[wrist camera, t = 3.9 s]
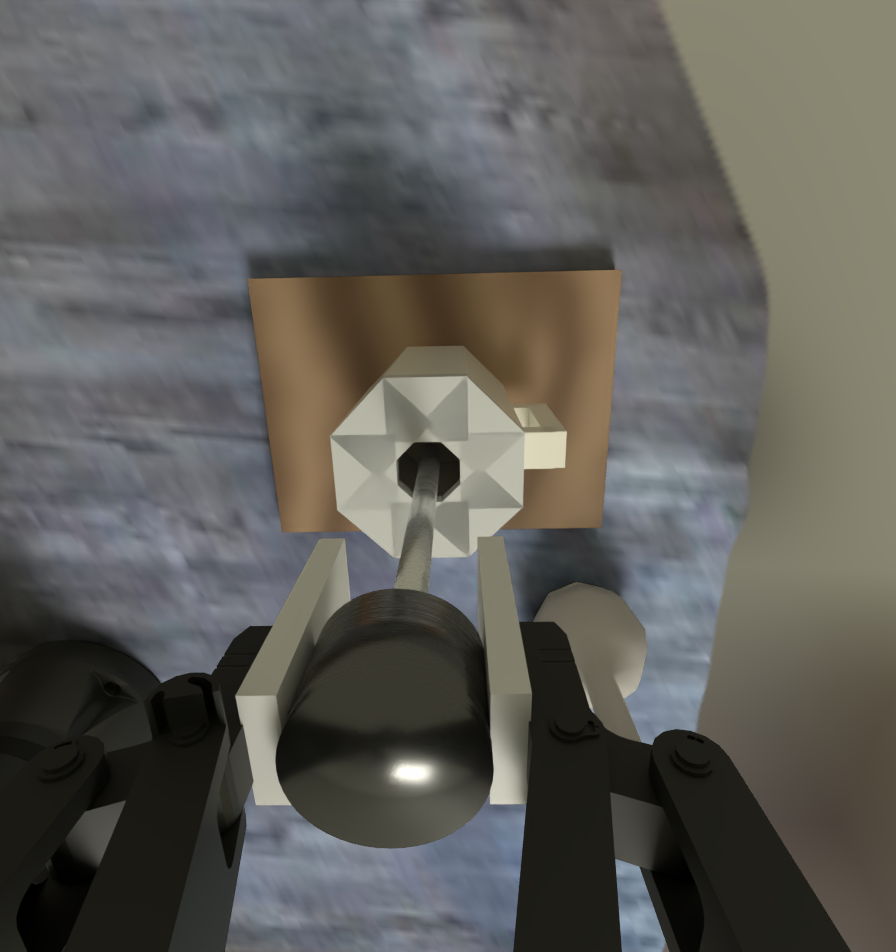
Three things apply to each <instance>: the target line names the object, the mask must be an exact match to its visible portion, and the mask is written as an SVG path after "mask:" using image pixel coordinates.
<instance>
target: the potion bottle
mask: <svg viewBox="0 0 896 952" xmlns="http://www.w3.org/2000/svg"><path fill="white" fill-rule="evenodd" d="M535 616H536V617H535V619H534V620H533V622H555V623H556V624H557V625H558V626H559V627H560V628H561V629H562V630H563V631H564V632H565V633H566V634H567V637H568V640H569V643H570V646H571V652H572V653H573V656H574V659H575V664H576V665H577V669H578V672H579V675H580V678H581V681H582V685H583V688H584V691H585V694H586V697H587V700H588V704H589V707H590V708H593V710H594V714H595V715H596V716H597V717H598V718H599V719H600V721H601V722H602V723H603V726H604V727H605V728H606V729H608V730H609V731H611V732H613V733H615V734H616V735H618V736H621V737H624V738H627V739H630V740H634V741H638V742H641V740H640V738H639V735H638V733H637V730H636V728H635V725H634V723H633V720H632V718H631V715H630V713H629V710H628V708H627V706H626V703H625V701H624V698H626V697H627V696H628V695H630V694H631V693H632V692H633V691H635V690H636V689H637V686H638V684H639V681H640V679H641V675H642V670H643V666H644V661H645V657H646V652H647V640H646V632H645V628H644V627H643V625H642V624H641V623H640V621H639V620H638V619H637V617H636V616H635V615H634V613H633V612H632V610H631V609H630V608H629V606H628V605H627V604H626V602H625V601H624V600H623V599H622V598H620V597H619V596H618V595H617V594H616V593H614V592H613V591H610V590H605V588H604V587H600V586H595V585H590V584H586V583H581V582H576V581H575V582H573V583H571V584H568V585H566V586H563V587H561V588H559V589H556V590H554V591H551V592H549V593H548V594H547V596H546V598H545V600H544V601H543V603H542V605H541V607H540V608H539V610H538V612H537V614H536V615H535Z"/></svg>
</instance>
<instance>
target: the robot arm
mask: <svg viewBox="0 0 896 952" xmlns="http://www.w3.org/2000/svg"><path fill="white" fill-rule="evenodd" d="M477 552H478V626H479V636H480V638H481V641H482V643H483V647H484V658H485V671H486V685H487V698H488V711H489V724H490V736H491V740H492V752H493V765H494V774H493V782H492V786H491V789H490V792H489V795H490V804H527V805H526V816H525V828H524V839H523V850H522V861H521V872H520V883H519V894H518V905H517V916H516V927H515V939H514V950H513V952H622V948H621V934H620V920H619V906H618V892H617V879H616V865H615V859H618V860H621V861H624V862H627V863H630V864H633V865H636V866H639V867H640V869H641V872H642V875H643V878H644V881H645V884H646V886H647V889H648V892H649V895H650V898H651V901H652V903H653V906H654V909H655V912H656V915H657V918H658V920H659V923H660V926H661V929H662V932H663V935H664V937H665V940H666V943H667V946H668V949H669V951H670V952H851V951H850V949H849V947H848V946H847V945H846V943H845V941H844V939H843V938H842V936H841V935H840V933H839V932H838V930H837V928H836V927H835V925H834V924H833V922H832V920H831V919H830V917H829V916H828V914H827V912H826V911H825V909H824V908H823V906H822V904H821V903H820V901H819V900H818V898H817V896H816V895H815V893H814V892H813V890H812V888H811V887H810V885H809V884H808V882H807V880H806V879H805V877H804V876H803V874H802V872H801V871H800V869H799V868H798V866H797V864H796V863H795V861H794V860H793V858H792V856H791V855H790V853H789V852H788V850H787V848H786V847H785V845H784V844H783V842H782V840H781V839H780V837H779V836H778V834H777V832H776V831H775V829H774V828H773V826H772V824H771V823H770V821H769V820H768V818H767V816H766V815H765V813H764V812H763V810H762V808H761V807H760V805H759V804H758V802H757V800H756V799H755V797H754V796H753V794H752V792H751V791H750V789H749V788H748V786H747V785H746V783H745V781H744V780H743V778H742V777H741V775H740V773H739V772H738V770H737V769H736V767H735V766H734V764H733V762H732V761H731V759H730V757H729V756H728V755H727V754H726V753H725V752H724V750H723V749H722V748H721V747H720V746H719V745H718V744H716V743H715V742H713V741H712V740H710V739H709V738H707V737H706V736H703V735H700V734H698V733H695V732H692V731H687V730H678V729H675V730H670V731H665V732H663V733H661V734H660V735H659V736H657V737H656V738H655V739H654V742H653V745H650V744H646V743H642V742H638V741H634V740H630V739H627V738H624V737H621V736H618V735H616V734H615V733H613V732H611V731H609V730H608V729H606V728H605V727H604V726H603V723H602V722H601V721H600V719H599V718H598V717H597V716H596V715H595V714H594V713H593V712H592V711H591V709H590V707H589V704H588V700H587V697H586V694H585V691H584V688H583V685H582V681H581V678H580V675H579V672H578V669H577V665H576V664H575V659H574V656H573V653H572V652H571V646H570V643H569V640H568V637H567V634H566V633H565V632H564V631H563V630H562V629H561V628H560V627H559V626H558V625H557V624H556V623H555V622H519V620H518V615H517V610H516V604H515V599H514V593H513V588H512V583H511V577H510V572H509V566H508V561H507V556H506V550H505V545H504V539H503V536H491V537H477ZM349 601H351V600H350V589H349V579H348V568H347V558H346V547H345V539H319V541H318V543H317V545H316V546H315V548H314V550H313V552H312V554H311V556H310V558H309V559H308V561H307V563H306V565H305V567H304V569H303V571H302V573H301V574H300V576H299V578H298V580H297V582H296V584H295V586H294V587H293V589H292V591H291V593H290V595H289V597H288V599H287V600H286V602H285V604H284V606H283V608H282V610H281V612H280V614H279V615H278V617H277V619H276V621H275V623H274V625H273V626H250V627H248V628H247V629H246V630H245V631H243V632H242V633H241V634H239V635H238V636H237V637H236V638H234V639H233V641H232V643H231V644H230V646H229V647H228V649H227V651H226V652H225V655H224V657H222V659H221V660H220V662H219V663H218V665H217V669H215V670H214V671H213V673H212V675H209V674H206V673H188V674H184V675H180V676H176V677H174V678H172V679H170V680H167V681H165V682H163V683H162V684H159V682H158V681H157V680H156V679H155V678H154V677H153V676H152V675H151V674H150V673H149V672H148V671H147V670H146V669H145V668H144V667H142V666H141V665H140V664H138V663H137V662H135V661H134V660H132V659H131V658H129V657H127V656H126V655H124V654H122V653H120V652H117V651H115V650H113V649H110V648H108V647H104V646H101V645H98V644H93V643H89V642H82V641H58V642H51V643H47V644H43V645H40V646H37V647H35V648H33V649H31V650H29V651H27V652H26V653H24V654H23V655H22V656H20V657H19V658H18V659H17V660H16V661H15V662H13V663H12V664H11V665H10V666H9V667H8V668H6V669H5V670H4V671H3V672H2V673H1V674H0V952H225V947H226V941H227V935H228V930H229V924H230V918H231V912H232V906H233V901H234V895H235V889H236V883H237V877H238V872H239V866H240V860H241V854H242V848H243V843H244V837H245V831H246V814H245V809H244V804H245V801H246V799H247V796H248V794H249V792H250V789H251V787H253V792H254V797H255V802H256V805H291V803H290V802H289V801H288V799H287V797H286V796H285V794H284V792H283V790H282V788H281V786H280V783H279V780H278V776H277V772H276V763H275V758H276V748H277V745H278V741H279V738H280V735H281V732H282V730H283V727H284V725H285V722H286V720H287V717H288V714H289V712H290V709H291V707H292V704H293V702H294V699H295V697H296V694H297V691H298V689H299V686H300V684H301V681H302V679H303V676H304V673H305V671H306V668H307V666H308V663H309V661H310V658H311V655H312V653H313V650H314V648H315V645H316V643H317V640H318V638H319V635H320V633H321V631H322V629H323V627H324V625H325V624H326V622H327V621H328V619H329V618H330V617H331V616H332V615H333V614H334V613H335V612H336V611H337V610H338V609H339V608H340V607H342V606H343V605H344V604H346V603H347V602H349Z"/></svg>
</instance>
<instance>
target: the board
mask: <svg viewBox="0 0 896 952" xmlns="http://www.w3.org/2000/svg"><path fill="white" fill-rule="evenodd" d="M621 274H622V270H592V271H551V272H510V273H469V274H428V275H387V276H345V277H304V278H263V279H247V280H248V287H249V294H250V302H251V309H252V316H253V323H254V331H255V338H256V345H257V353H258V360H259V367H260V375H261V382H262V389H263V397H264V404H265V411H266V418H267V426H268V433H269V440H270V448H271V455H272V462H273V470H274V477H275V484H276V491H277V499H278V506H279V513H280V521H281V528H282V532H339V531H362V530H360V529H359V528H358V527H357V526H356V525H354V524H353V523H352V522H351V521H350V520H348V519H347V518H346V517H345V516H344V515H342V514H341V513H340V512H339V511H337V501H336V491H335V481H334V471H333V461H332V450H331V440H330V435H331V434H332V432H333V431H334V430H335V429H336V428H337V426H338V425H339V424H340V423H341V422H342V420H343V419H344V418H345V417H346V416H347V414H348V413H349V412H350V411H351V410H352V408H353V407H354V406H355V405H356V404H357V403H358V401H359V400H360V399H361V398H362V397H363V395H364V394H365V393H366V392H367V391H368V389H369V388H370V387H371V386H372V385H373V384H374V383H375V382H376V381H377V380H378V379H379V378H380V376H381V375H382V374H383V373H384V372H385V371H386V370H387V369H388V368H389V367H390V365H391V364H392V363H393V362H394V361H395V360H396V359H397V358H398V357H399V356H400V354H401V353H402V352H403V351H404V350H405V349H406V347H422V346H464V347H465V348H466V349H467V350H468V351H469V352H470V353H471V354H472V355H473V356H474V357H475V358H476V359H477V360H478V361H479V362H480V363H481V364H482V365H483V366H484V367H486V368H487V369H488V370H489V371H490V372H491V373H492V374H493V375H494V376H495V377H496V378H497V379H498V380H499V381H500V382H501V383H502V384H503V386H504V388H505V390H506V392H507V395H508V397H509V399H510V401H511V403H512V404H547V406H548V407H549V408H550V410H551V411H552V412H553V414H554V415H555V416H556V418H557V419H558V420H559V422H560V423H561V424H562V426H563V427H564V428H565V430H566V431H567V437H566V457H565V468H554V469H524V483H523V508H522V509H521V510H520V511H518V512H517V513H516V514H515V515H514V516H513V517H512V518H511V519H510V520H509V521H507V522H506V523H505V524H504V525H503V526H502V527H501V528H500V529H546V528H602V516H603V503H604V490H605V477H606V465H607V452H608V439H609V427H610V414H611V401H612V388H613V376H614V363H615V350H616V338H617V325H618V312H619V299H620V287H621Z"/></svg>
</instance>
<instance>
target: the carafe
mask: <svg viewBox="0 0 896 952" xmlns="http://www.w3.org/2000/svg"><path fill="white" fill-rule="evenodd" d="M566 437H567V431H566V430H565V428H564V427H563V426H562V424H561V423H560V422H559V420H558V419H557V418H556V416H555V415H554V414H553V412H552V411H551V410H550V408H549V407H548V406H547V404H512V403H511V401H510V399H509V397H508V395H507V392H506V390H505V388H504V386H503V384H502V383H501V382H500V381H499V380H498V379H497V378H496V377H495V376H494V375H493V374H492V373H491V372H490V371H489V370H488V369H487V368H486V367H484V366H483V365H482V364H481V363H480V362H479V361H478V360H477V359H476V358H475V357H474V356H473V355H472V354H471V353H470V352H469V351H468V350H467V349H466V348H465V347H464V346H422V347H406V349H405V350H404V351H403V352H402V353H401V354H400V356H399V357H398V358H397V359H396V360H395V361H394V362H393V363H392V364H391V365H390V367H389V368H388V369H387V370H386V371H385V372H384V373H383V374H382V375H381V376H380V378H379V379H378V380H377V381H376V382H375V383H374V384H373V385H372V386H371V387H370V388H369V389H368V391H367V392H366V393H365V394H364V395H363V397H362V398H361V399H360V400H359V401H358V403H357V404H356V405H355V406H354V407H353V408H352V410H351V411H350V412H349V413H348V414H347V416H346V417H345V418H344V419H343V420H342V422H341V423H340V424H339V425H338V426H337V428H336V429H335V430H334V431H333V432H332V434H331V435H330V440H331V450H332V461H333V471H334V481H335V491H336V501H337V511H339V512H340V513H341V514H342V515H344V516H345V517H346V518H347V519H348V520H350V521H351V522H352V523H353V524H354V525H356V526H357V527H358V528H359V529H360V530H362V531H363V532H364V533H365V534H366V535H368V536H369V537H370V538H371V539H372V540H374V541H375V542H376V543H377V544H378V545H380V546H381V547H382V548H383V549H384V550H386V551H387V552H388V553H389V554H390V555H392V556H393V557H394V558H400V556H401V552H402V547H403V542H404V537H405V532H406V527H407V522H408V517H409V512H410V508H411V503H412V498H413V493H414V488H415V483H416V478H417V473H418V469H419V464H420V459H421V454H422V449H423V447H424V446H425V445H426V444H428V443H434V444H436V445H438V446H439V447H440V450H441V457H440V468H439V479H438V490H437V501H436V512H435V523H434V534H433V545H432V556H431V557H470V555H471V554H473V553H474V552H475V551H476V550H477V537H491V536H492V535H493V534H494V533H495V532H497V531H498V530H499V529H500V528H501V527H502V526H503V525H504V524H505V523H506V522H507V521H509V520H510V519H511V518H512V517H513V516H514V515H515V514H516V513H517V512H518V511H520V510H521V509H522V508H523V483H524V469H554V468H565V457H566Z"/></svg>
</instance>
